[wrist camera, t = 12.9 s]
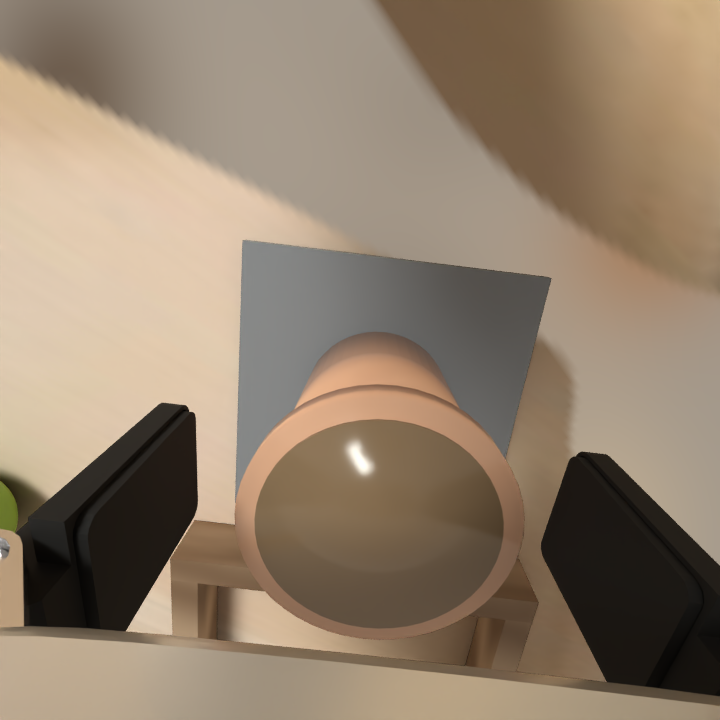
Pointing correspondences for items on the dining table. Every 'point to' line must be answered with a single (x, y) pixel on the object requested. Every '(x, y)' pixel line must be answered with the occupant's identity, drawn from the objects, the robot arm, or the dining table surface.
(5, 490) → the snail figurine
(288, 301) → the grey mat
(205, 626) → the frame
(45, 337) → the dining table surface
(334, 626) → the terracotta pot
